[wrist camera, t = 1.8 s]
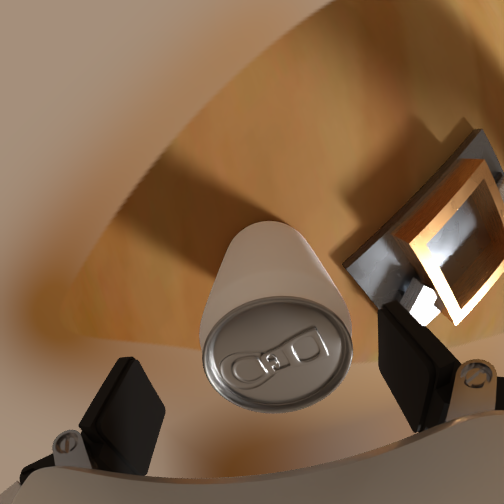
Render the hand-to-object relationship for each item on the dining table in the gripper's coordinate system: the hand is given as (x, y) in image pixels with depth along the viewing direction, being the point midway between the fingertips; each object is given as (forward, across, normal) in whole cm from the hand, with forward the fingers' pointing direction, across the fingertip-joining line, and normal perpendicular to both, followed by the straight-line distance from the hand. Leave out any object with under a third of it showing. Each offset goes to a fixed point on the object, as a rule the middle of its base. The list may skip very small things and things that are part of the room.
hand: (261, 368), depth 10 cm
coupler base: (+12, -17, +1) cm, 20 cm away
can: (+12, -1, 0) cm, 12 cm away
